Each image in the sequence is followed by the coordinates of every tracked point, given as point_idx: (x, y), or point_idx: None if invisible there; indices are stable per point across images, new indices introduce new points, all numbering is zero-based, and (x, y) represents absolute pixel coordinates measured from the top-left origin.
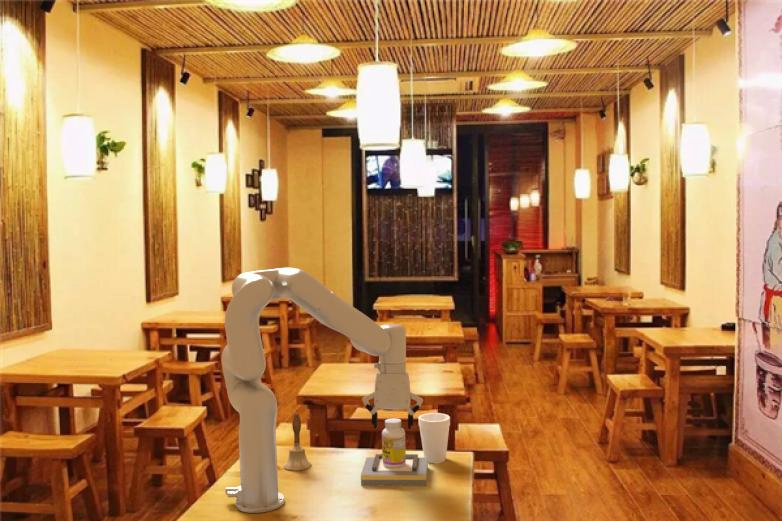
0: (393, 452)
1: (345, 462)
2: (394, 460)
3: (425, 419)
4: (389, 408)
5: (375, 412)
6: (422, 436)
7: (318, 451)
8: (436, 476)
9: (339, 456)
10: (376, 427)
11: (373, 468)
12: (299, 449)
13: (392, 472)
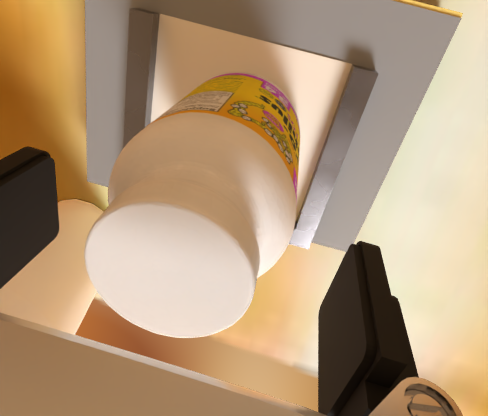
0: (237, 89)
1: (411, 293)
2: (240, 79)
3: None
4: (128, 360)
5: (387, 396)
6: (72, 288)
7: (468, 398)
8: (71, 56)
9: (413, 345)
10: (353, 244)
11: (369, 69)
12: None
13: (268, 15)
